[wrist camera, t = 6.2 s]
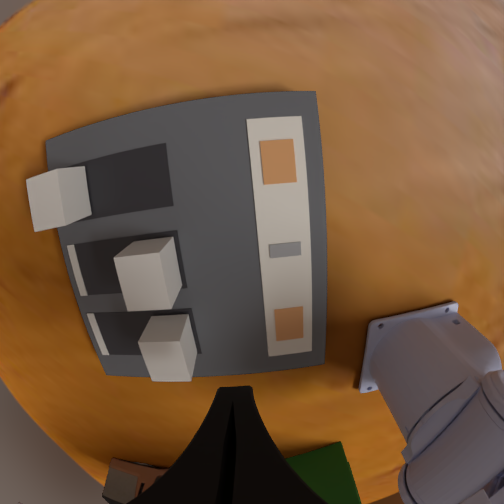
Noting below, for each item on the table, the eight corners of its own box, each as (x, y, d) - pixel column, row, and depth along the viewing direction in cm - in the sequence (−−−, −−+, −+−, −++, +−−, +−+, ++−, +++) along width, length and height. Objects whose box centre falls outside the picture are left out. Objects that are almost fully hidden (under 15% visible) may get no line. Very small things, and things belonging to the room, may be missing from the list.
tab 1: (84, 166, 14) (57, 168, 11) (91, 214, 15) (65, 225, 12) (54, 175, 14) (26, 179, 11) (61, 220, 15) (34, 232, 12)
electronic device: (186, 480, 28) (180, 524, 21) (122, 471, 28) (110, 510, 21) (178, 466, 27) (171, 514, 19) (110, 455, 27) (96, 498, 19)
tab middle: (173, 236, 16) (159, 252, 13) (182, 285, 17) (171, 309, 14) (133, 241, 16) (113, 257, 13) (144, 288, 17) (127, 311, 14)
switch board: (307, 98, 16) (316, 90, 14) (318, 348, 21) (324, 365, 19) (61, 141, 16) (44, 140, 14) (114, 360, 21) (106, 376, 19)
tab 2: (188, 313, 17) (179, 341, 14) (197, 351, 18) (191, 381, 15) (151, 316, 17) (137, 342, 14) (162, 353, 18) (152, 381, 15)
